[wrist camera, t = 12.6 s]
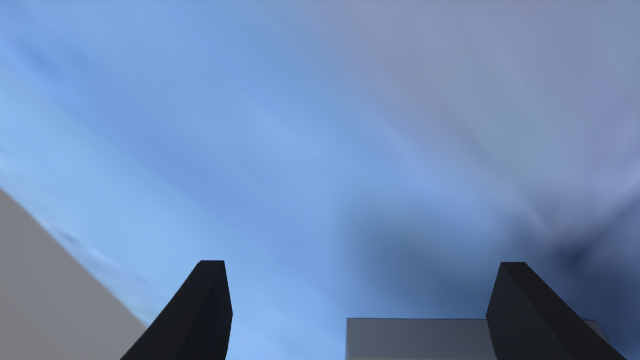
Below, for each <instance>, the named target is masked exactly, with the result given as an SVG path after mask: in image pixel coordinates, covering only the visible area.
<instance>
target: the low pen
mask: <svg viewBox="0 0 640 360" xmlns="http://www.w3.org/2000/svg"><path fill="white" fill-rule="evenodd" d="M583 321H584V322H585V323H586V324H587V325H588V326H589V327H590V328H592V329H593V330H594V331H595V332H596V333H597V334H598V335H599V336H600V337H601V338H602V339H603V340H605V341H606V342H607V343H608V344H609V345H610V346H611V344H610V343H609V341H608V339H607V338H606V336H605V334H604V333H603V331H602V329H601V328H600V326H599V324H598V323H597V321H591V320H583ZM611 347H612V346H611ZM345 360H497V358H496V355H495V352H494V348H493V344H492V340H491V336H490V332H489V327H488V323H487V320H465V319H347V329H346V356H345Z"/></svg>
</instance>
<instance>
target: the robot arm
mask: <svg viewBox="0 0 640 360" xmlns="http://www.w3.org/2000/svg"><path fill="white" fill-rule="evenodd" d="M232 316H233V312H232V306H231V300H230V294H229V287H228V281H227V275H226V269H225V263H224V261H223V260H201V261H200V262H199V263H198V264H197V265H196V266H195V268H194V269H193V271H192V272H191V273H190V275H189V276H188V278H187V279H186V280H185V282H184V283H183V284H182V286H181V287H180V288H179V290H178V291H177V292H176V294H175V295H174V296H173V298H172V299H171V300H170V302H169V303H168V304H167V305H166V307H165V308H164V309H163V310H162V312H161V313H160V314H159V315H158V317H157V318H156V319H155V320H154V322H153V323H152V324H151V325H150V326H149V328H148V329H147V330H146V331H145V332H144V333H143V335H142V336H141V337H140V338H139V339H138V340H137V341H136V342H135V343H134V345H133V346H132V347H131V348H130V349H129V350H128V351H127V353H126V354H125V355H124V356H123V357H122V358H121V359H120V360H225V358H226V354H227V350H228V343H229V337H230V330H231V323H232ZM486 319H487V323H488V327H489V332H490V336H491V340H492V344H493V348H494V352H495V355H496V358H497V360H626V359H625V358H624V357H623V356H622V355H621V354H619V353H618V352H617V351H616V350H615V349H614V348H612V347H611V346H610V345H609V344H608V343H607V342H606V341H605V340H603V339H602V338H601V337H600V336H599V335H598V334H597V333H596V332H595V331H594V330H593V329H592V328H590V327H589V326H588V325H587V324H586V323H585V322H584V321H583V320H582V319H581V318H580V317H579V316H578V315H577V314H576V313H575V312H574V311H573V310H572V309H571V308H570V307H569V306H568V305H567V304H566V303H565V302H564V301H563V300H562V299H561V298H560V297H559V296H558V295H557V294H556V293H555V292H554V291H553V290H552V289H551V288H550V287H549V286H548V285H547V284H546V283H545V282H544V281H543V280H542V279H541V278H540V277H539V276H538V275H537V274H536V273H535V272H534V271H533V270H532V269H531V268H530V267H529V266H528V265H527V264H526V263H525V262H501V264H500V267H499V271H498V274H497V278H496V281H495V285H494V288H493V292H492V296H491V299H490V303H489V306H488V310H487V313H486Z"/></svg>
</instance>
